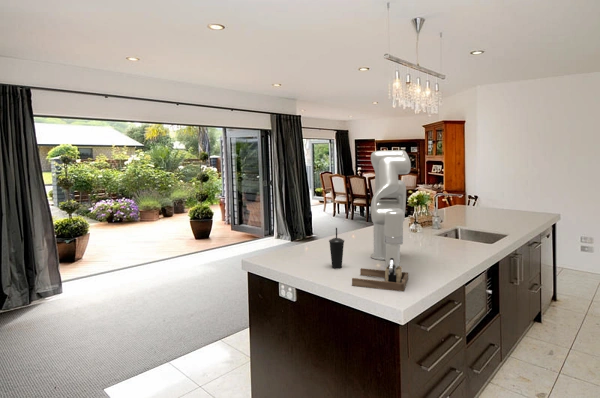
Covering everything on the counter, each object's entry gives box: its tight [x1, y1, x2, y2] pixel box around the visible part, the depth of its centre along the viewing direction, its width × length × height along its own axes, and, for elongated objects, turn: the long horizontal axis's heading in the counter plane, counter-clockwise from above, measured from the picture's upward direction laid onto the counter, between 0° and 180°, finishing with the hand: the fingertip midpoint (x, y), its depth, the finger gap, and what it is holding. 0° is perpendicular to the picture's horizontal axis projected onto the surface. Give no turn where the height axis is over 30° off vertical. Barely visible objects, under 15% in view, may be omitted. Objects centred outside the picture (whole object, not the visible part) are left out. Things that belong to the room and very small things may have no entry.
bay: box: [351, 267, 409, 292], centre depth 156 cm, size 16×21×3 cm
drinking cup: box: [328, 227, 345, 270], centre depth 180 cm, size 8×8×20 cm
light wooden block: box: [384, 265, 403, 283], centre depth 154 cm, size 6×6×7 cm
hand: (393, 281), depth 154 cm, fingers closed on light wooden block, 6 cm apart
